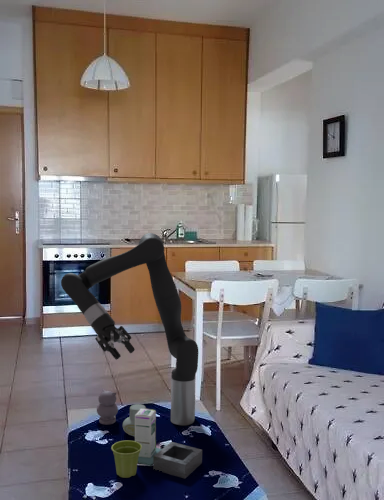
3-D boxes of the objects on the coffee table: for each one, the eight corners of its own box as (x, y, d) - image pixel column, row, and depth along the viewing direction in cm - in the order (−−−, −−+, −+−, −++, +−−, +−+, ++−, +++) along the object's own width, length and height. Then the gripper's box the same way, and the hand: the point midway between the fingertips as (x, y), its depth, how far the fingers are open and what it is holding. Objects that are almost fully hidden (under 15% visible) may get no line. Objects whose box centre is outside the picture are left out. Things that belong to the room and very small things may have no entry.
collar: (171, 454, 183) (171, 441, 182) (202, 462, 177) (202, 449, 177) (153, 469, 172) (153, 455, 172) (185, 478, 167) (185, 464, 167)
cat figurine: (92, 421, 208) (92, 391, 207) (106, 415, 214) (106, 385, 213) (108, 427, 203) (108, 396, 202) (122, 420, 210) (122, 390, 208)
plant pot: (114, 465, 174) (114, 439, 174) (143, 466, 174) (143, 440, 173) (108, 480, 165) (108, 453, 164) (139, 481, 165) (139, 454, 164)
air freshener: (119, 435, 196) (119, 409, 195) (128, 426, 204) (128, 401, 203) (147, 440, 193) (147, 413, 192) (155, 430, 201) (155, 404, 200)
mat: (141, 445, 189) (141, 443, 189) (168, 452, 184) (168, 450, 184) (122, 458, 179) (122, 456, 179) (150, 466, 174) (150, 464, 174)
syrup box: (151, 458, 178) (151, 416, 177) (134, 456, 180) (134, 414, 178) (156, 450, 184) (156, 409, 182) (139, 448, 185) (140, 407, 184)
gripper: (92, 316, 185) (120, 353, 180) (116, 308, 197) (143, 343, 193) (80, 329, 188) (107, 366, 183) (105, 321, 200) (131, 355, 196)
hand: (126, 354), depth 188 cm, fingers open, 8 cm apart
